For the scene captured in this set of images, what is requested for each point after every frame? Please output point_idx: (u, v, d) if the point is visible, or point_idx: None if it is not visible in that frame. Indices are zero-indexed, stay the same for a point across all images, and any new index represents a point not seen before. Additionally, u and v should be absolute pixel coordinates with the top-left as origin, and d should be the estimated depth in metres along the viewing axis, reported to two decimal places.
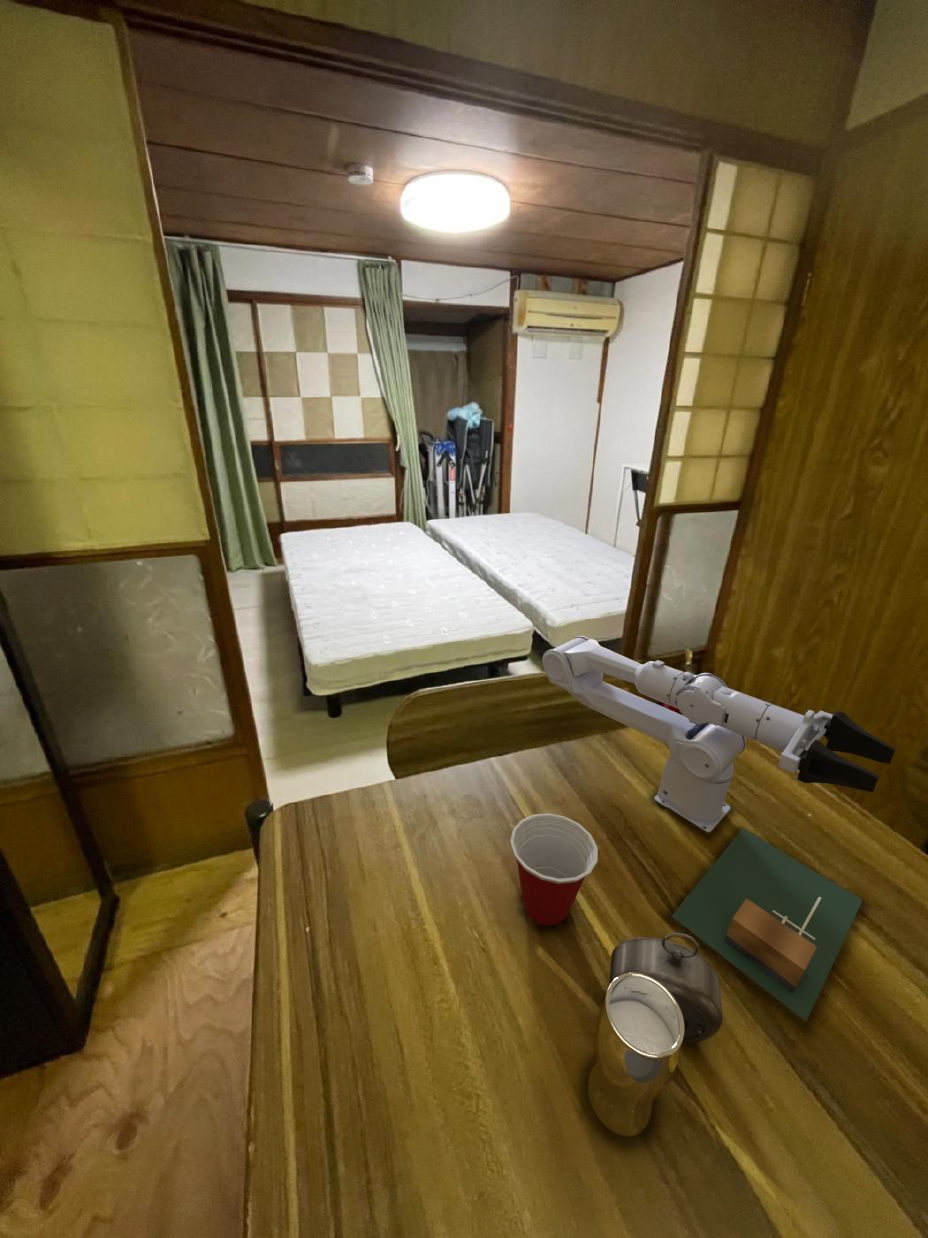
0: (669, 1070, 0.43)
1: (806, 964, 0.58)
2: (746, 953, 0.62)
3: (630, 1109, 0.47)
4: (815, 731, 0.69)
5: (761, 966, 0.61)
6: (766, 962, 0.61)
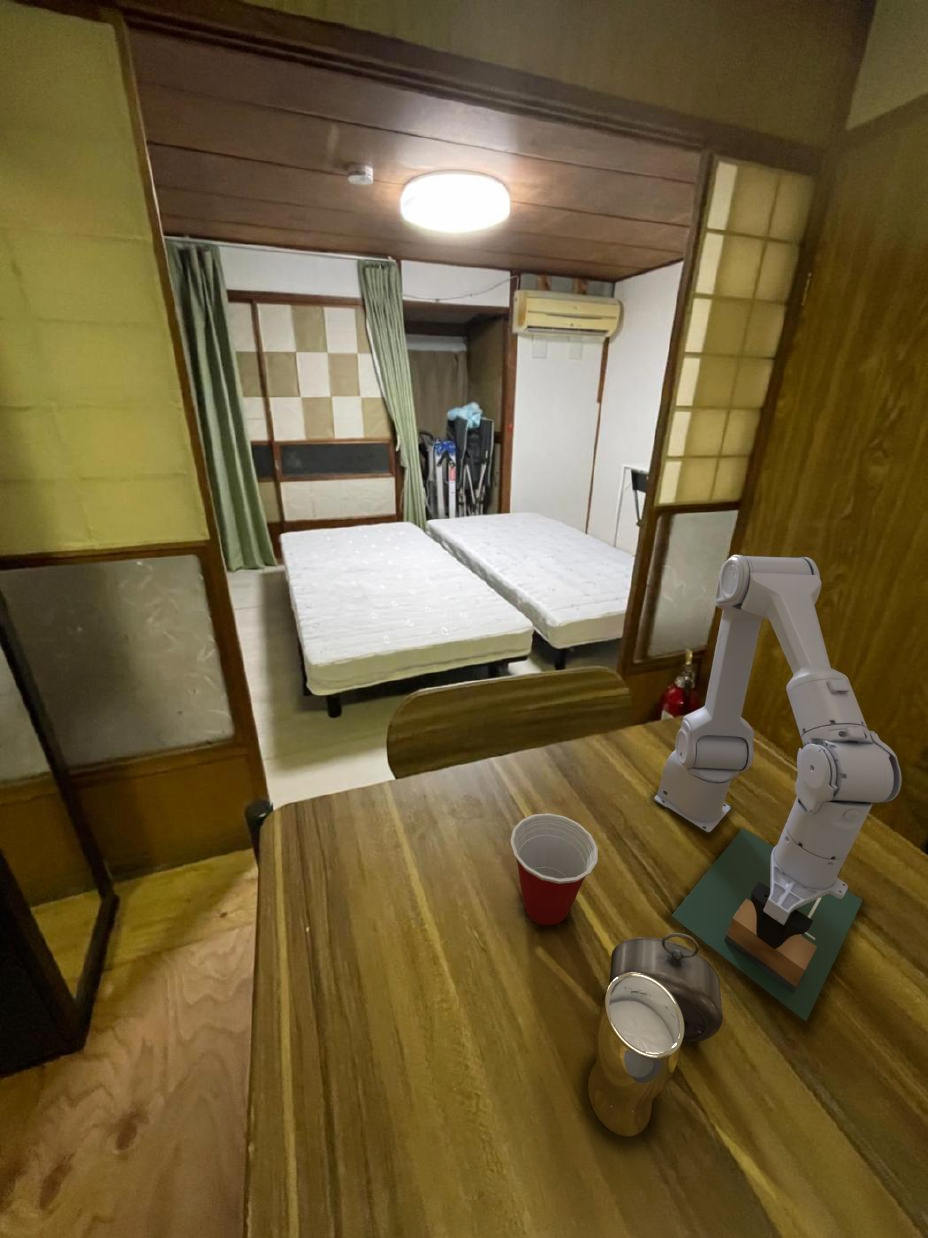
0: (669, 1070, 0.43)
1: (806, 964, 0.58)
2: (746, 953, 0.62)
3: (630, 1109, 0.47)
4: None
5: (761, 966, 0.61)
6: (766, 962, 0.61)
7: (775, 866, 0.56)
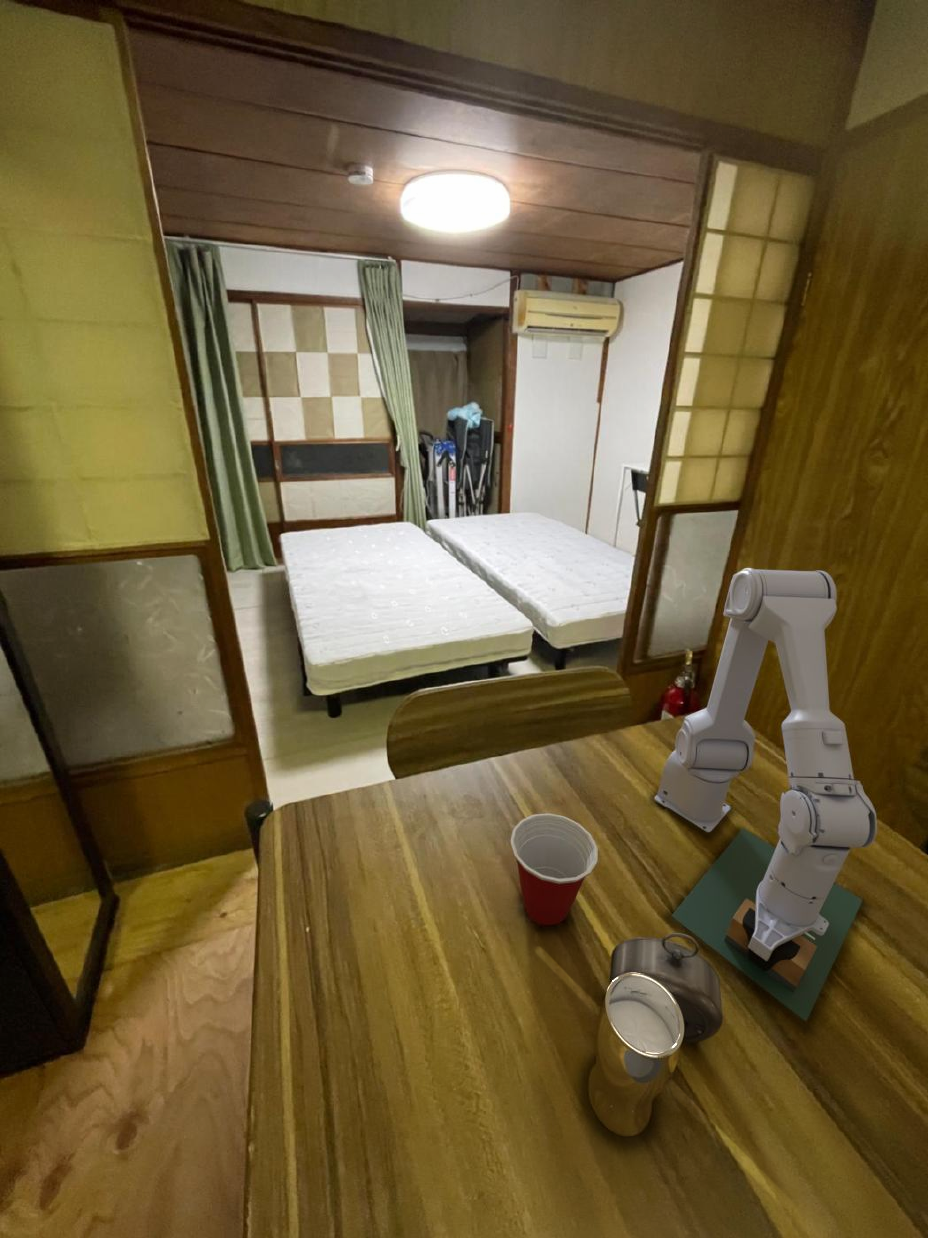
0: (669, 1070, 0.43)
1: (806, 964, 0.58)
2: (746, 953, 0.62)
3: (630, 1109, 0.47)
4: None
5: None
6: None
7: (760, 903, 0.58)
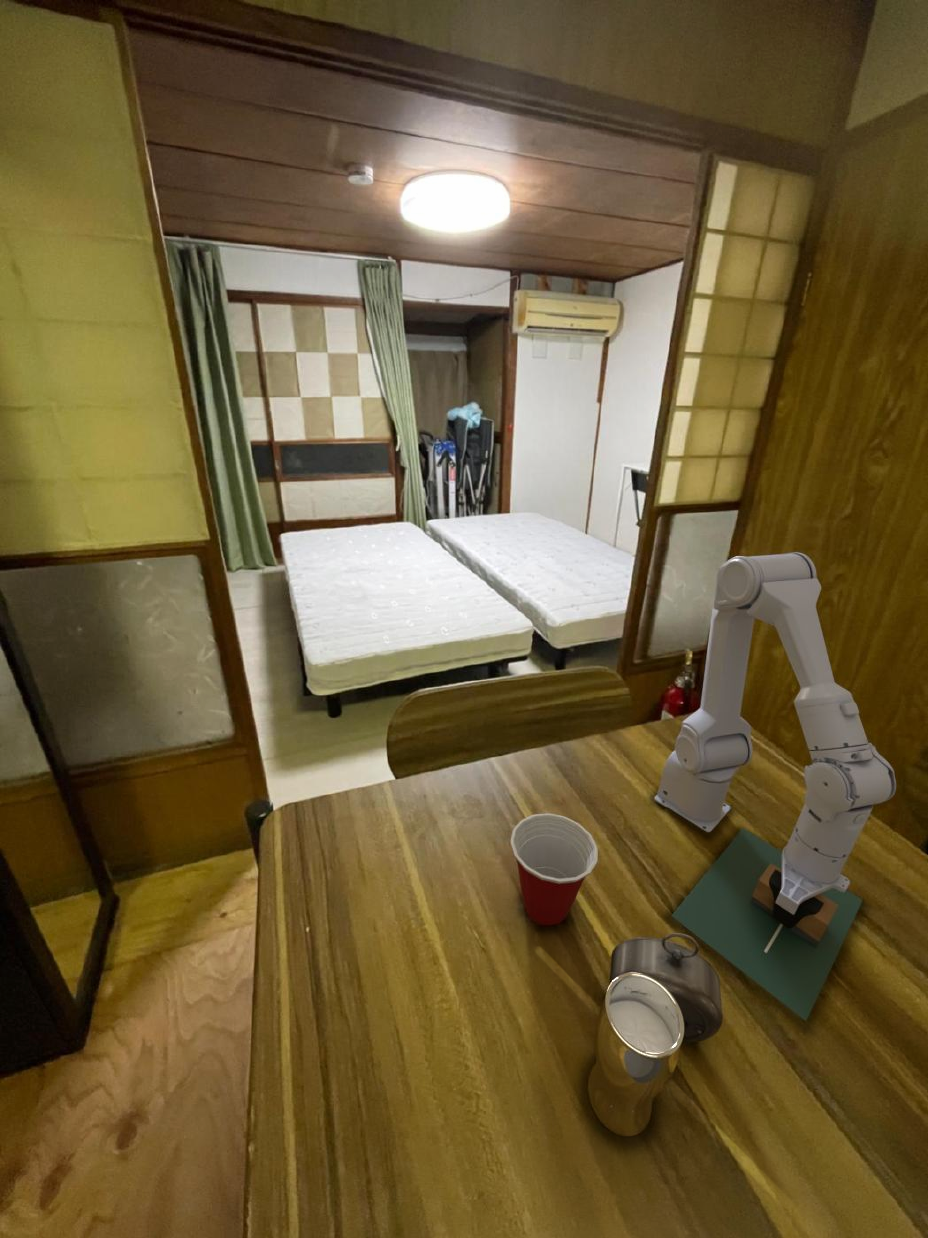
0: (669, 1070, 0.43)
1: (829, 920, 0.62)
2: (771, 912, 0.67)
3: (630, 1109, 0.47)
4: None
5: None
6: None
7: (786, 863, 0.63)
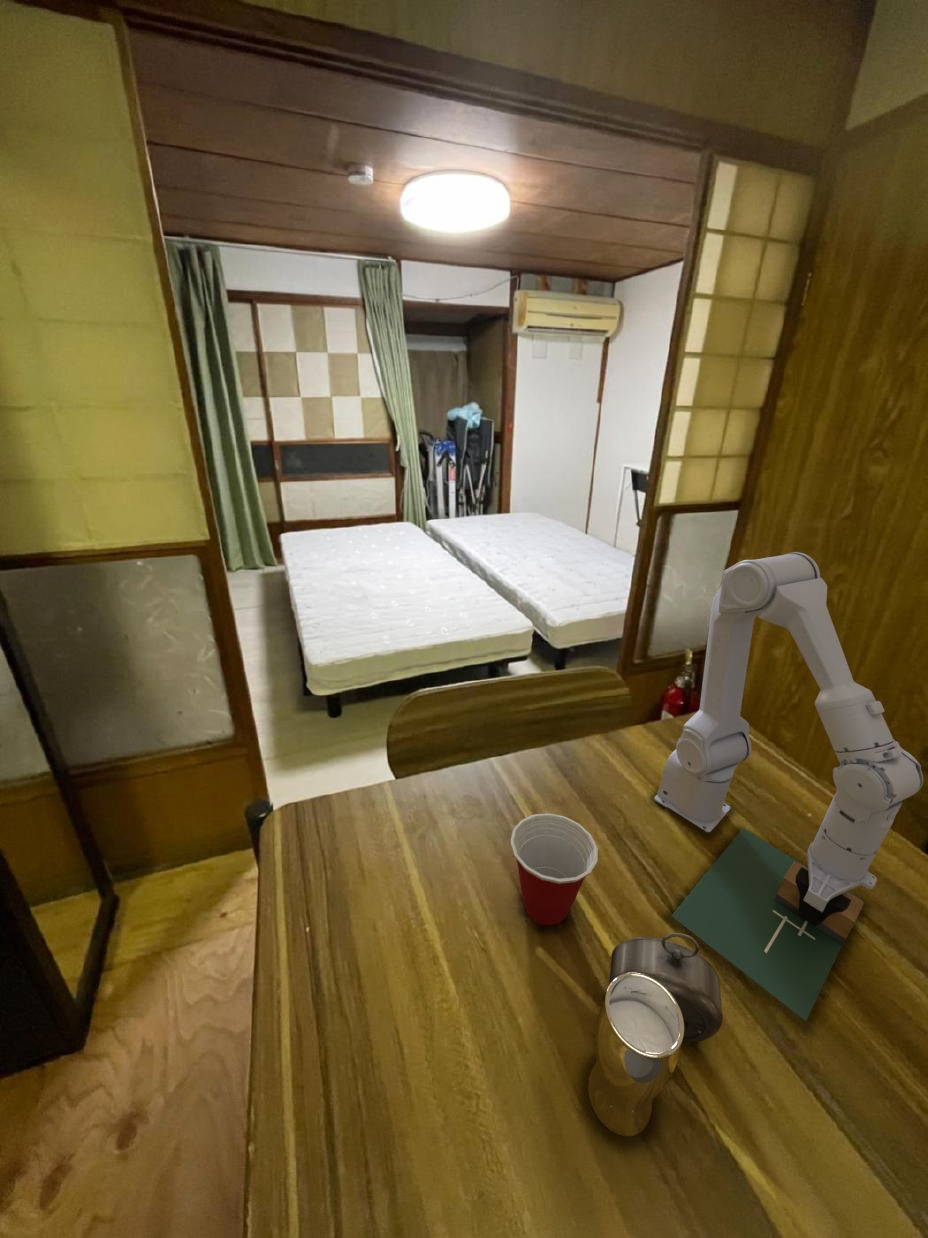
0: (669, 1070, 0.43)
1: (855, 917, 0.63)
2: (796, 910, 0.67)
3: (630, 1109, 0.47)
4: None
5: None
6: None
7: (812, 861, 0.63)
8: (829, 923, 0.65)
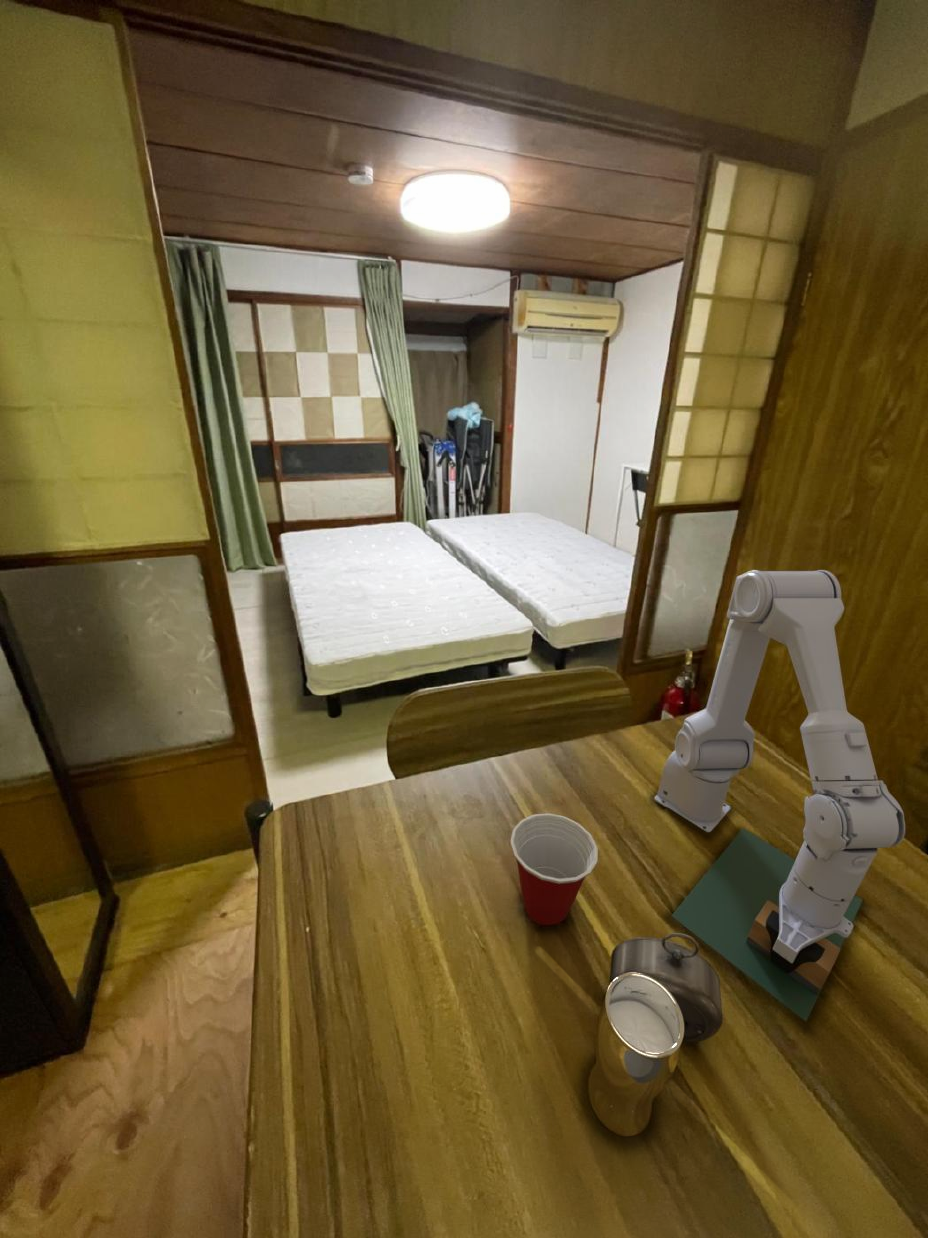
0: (669, 1070, 0.43)
1: (830, 966, 0.57)
2: (768, 955, 0.62)
3: (630, 1109, 0.47)
4: None
5: None
6: None
7: (784, 905, 0.58)
8: (803, 971, 0.59)
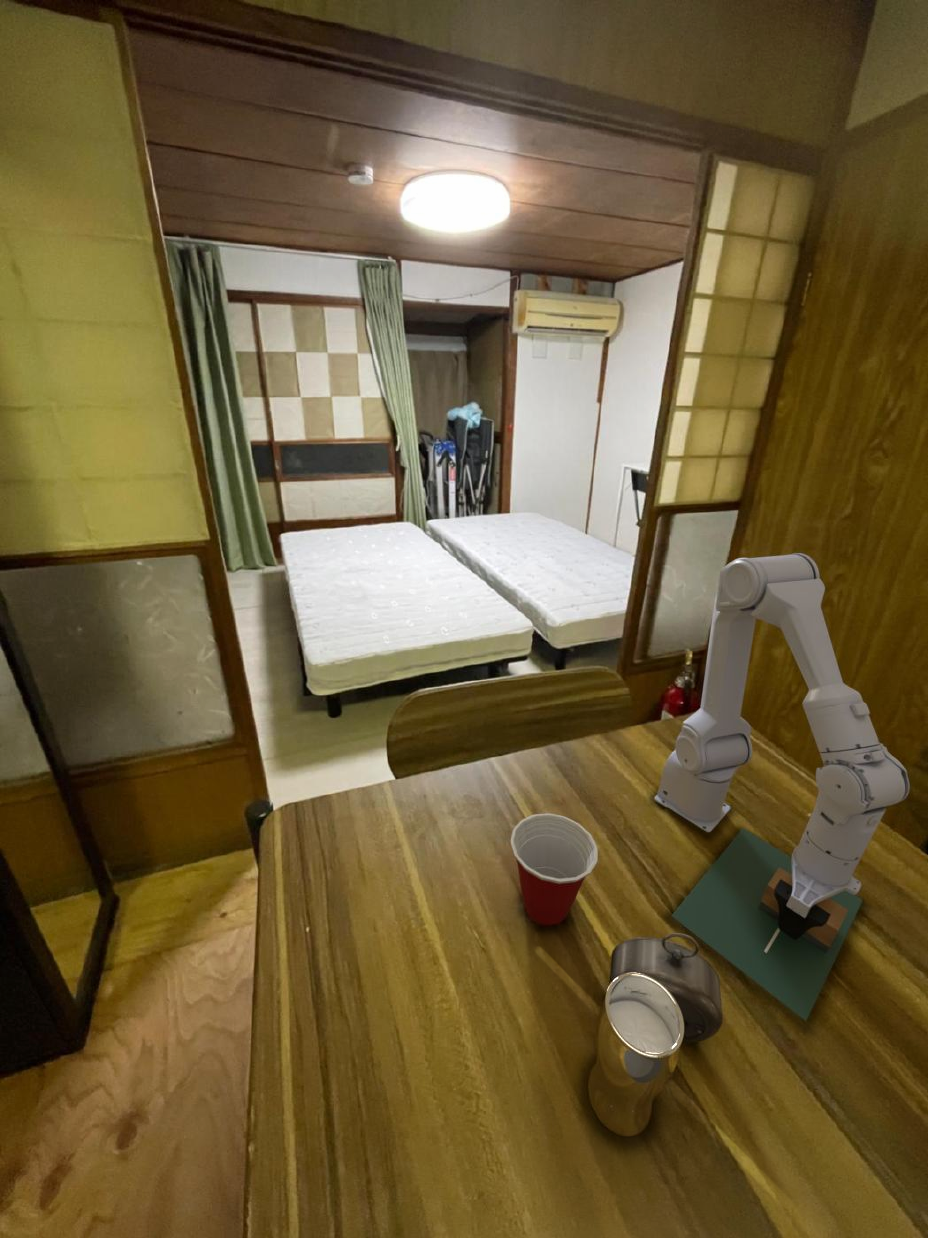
0: (669, 1070, 0.43)
1: (839, 925, 0.62)
2: None
3: (630, 1109, 0.47)
4: None
5: None
6: None
7: (796, 866, 0.62)
8: (813, 931, 0.64)
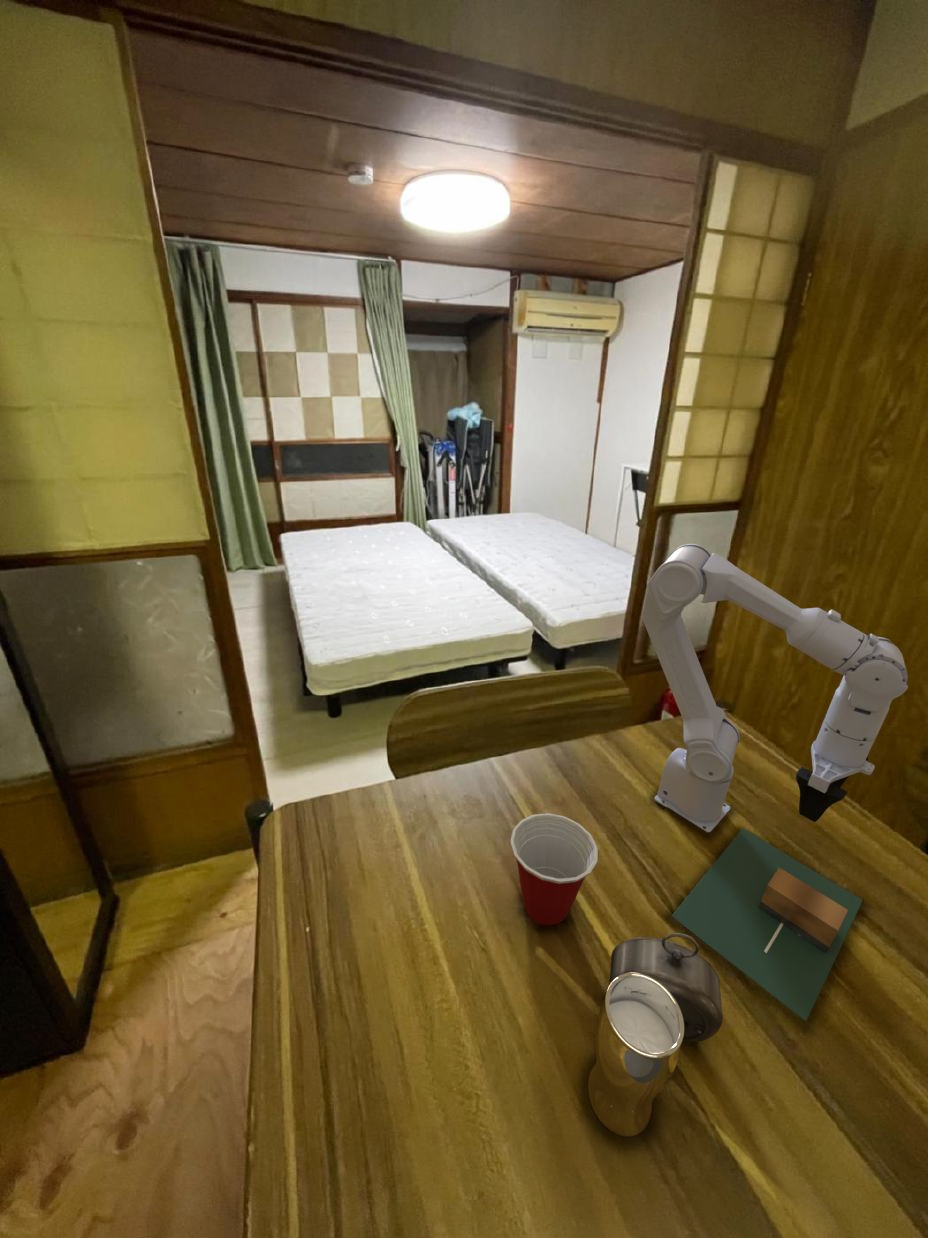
0: (669, 1070, 0.43)
1: (839, 925, 0.62)
2: (780, 918, 0.66)
3: (630, 1109, 0.47)
4: None
5: (795, 929, 0.65)
6: (800, 925, 0.65)
7: (816, 753, 0.69)
8: (813, 931, 0.64)
